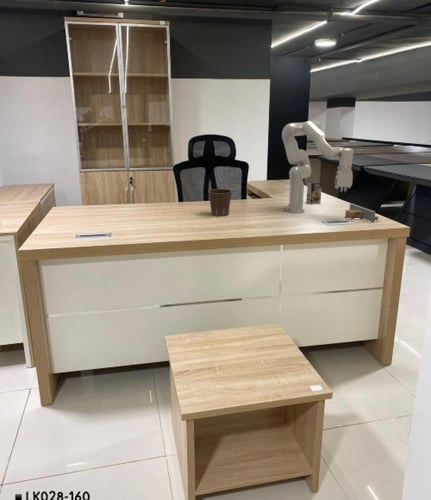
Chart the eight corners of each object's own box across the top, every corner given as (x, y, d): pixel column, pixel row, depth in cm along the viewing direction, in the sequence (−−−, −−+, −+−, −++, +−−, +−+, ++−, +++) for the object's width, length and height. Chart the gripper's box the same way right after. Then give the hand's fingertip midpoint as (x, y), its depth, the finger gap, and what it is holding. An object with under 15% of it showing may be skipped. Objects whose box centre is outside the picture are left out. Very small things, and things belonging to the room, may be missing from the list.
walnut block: (350, 220, 276) (351, 212, 274) (345, 217, 282) (345, 210, 281) (361, 219, 277) (362, 211, 276) (355, 216, 284) (356, 209, 282)
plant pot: (229, 217, 281) (230, 193, 277) (206, 216, 285) (205, 192, 280) (233, 212, 297) (234, 189, 292) (211, 211, 300) (211, 188, 295)
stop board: (371, 222, 268) (372, 211, 266) (349, 213, 292) (350, 203, 290) (379, 222, 269) (380, 211, 267) (356, 213, 293) (357, 203, 291)
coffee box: (310, 204, 322) (312, 183, 317) (305, 203, 327) (307, 182, 322) (320, 203, 325) (322, 182, 320) (315, 202, 331) (317, 181, 326)
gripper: (337, 169, 261) (333, 198, 267) (358, 169, 265) (354, 198, 271) (331, 167, 268) (328, 196, 274) (352, 167, 272) (348, 195, 278)
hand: (341, 197), depth 273 cm, fingers closed
